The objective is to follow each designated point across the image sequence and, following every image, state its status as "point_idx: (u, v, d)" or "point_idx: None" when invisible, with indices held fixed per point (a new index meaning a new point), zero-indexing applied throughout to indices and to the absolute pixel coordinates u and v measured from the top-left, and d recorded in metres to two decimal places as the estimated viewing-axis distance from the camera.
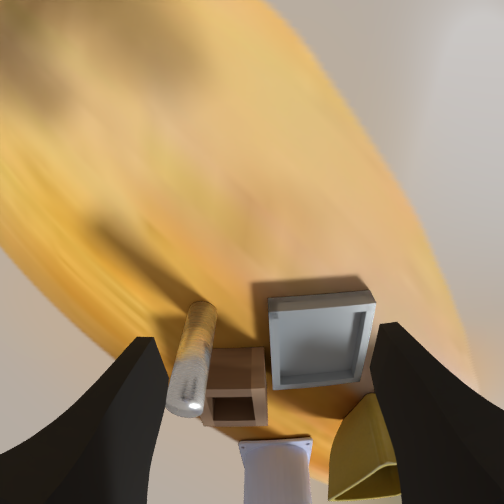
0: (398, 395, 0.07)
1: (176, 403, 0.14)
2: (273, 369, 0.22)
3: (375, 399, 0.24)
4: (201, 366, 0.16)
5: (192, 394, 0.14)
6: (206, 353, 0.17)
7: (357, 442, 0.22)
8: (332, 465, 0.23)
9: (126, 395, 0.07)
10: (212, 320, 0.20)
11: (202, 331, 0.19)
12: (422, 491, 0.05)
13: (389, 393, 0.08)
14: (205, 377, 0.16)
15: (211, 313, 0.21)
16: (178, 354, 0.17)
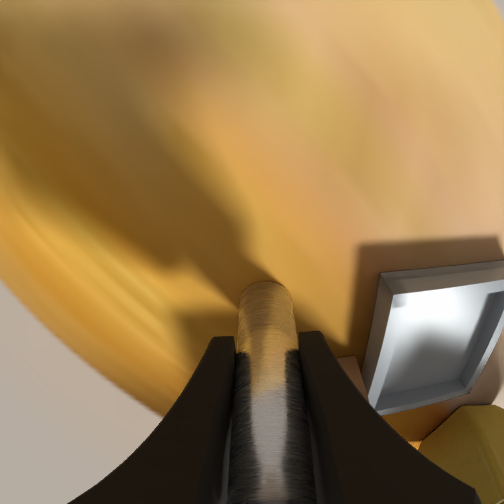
0: (309, 408, 0.08)
1: None
2: (372, 390, 0.13)
3: (474, 413, 0.15)
4: (300, 414, 0.07)
5: (299, 488, 0.05)
6: (300, 382, 0.08)
7: (458, 472, 0.12)
8: None
9: (221, 400, 0.07)
10: (291, 314, 0.11)
11: (283, 338, 0.09)
12: None
13: (306, 405, 0.08)
14: (309, 436, 0.07)
15: (287, 302, 0.11)
16: (242, 389, 0.08)
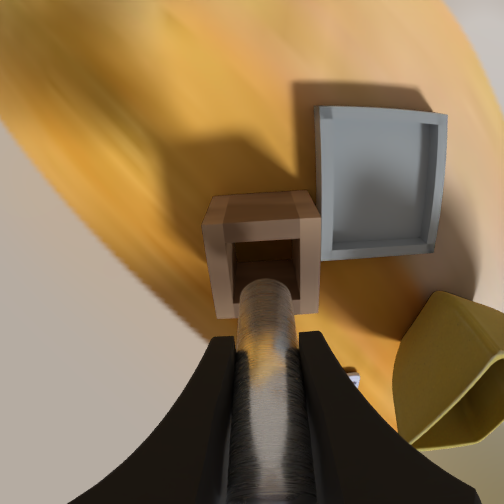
0: (309, 408, 0.08)
1: (256, 503, 0.05)
2: (324, 216, 0.16)
3: None
4: (299, 410, 0.07)
5: (298, 484, 0.05)
6: (299, 378, 0.08)
7: (440, 347, 0.15)
8: (400, 397, 0.17)
9: (221, 400, 0.07)
10: (291, 311, 0.11)
11: (282, 334, 0.09)
12: None
13: None
14: (309, 432, 0.07)
15: (287, 299, 0.11)
16: (242, 386, 0.08)
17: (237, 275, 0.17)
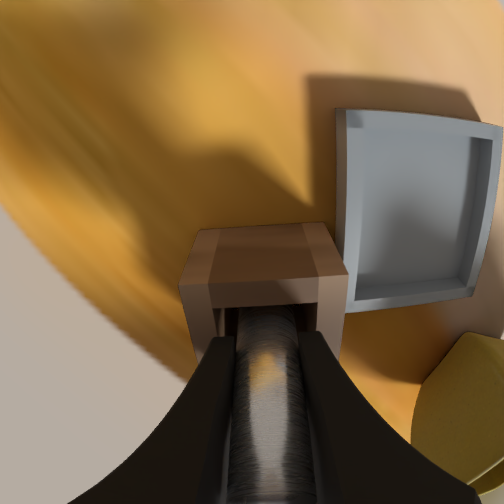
0: (309, 408, 0.08)
1: (256, 502, 0.05)
2: (346, 259, 0.12)
3: (481, 337, 0.14)
4: (299, 409, 0.07)
5: (298, 484, 0.05)
6: (299, 378, 0.08)
7: (471, 406, 0.11)
8: None
9: (221, 400, 0.07)
10: (291, 310, 0.11)
11: (282, 334, 0.09)
12: None
13: None
14: (309, 431, 0.07)
15: None
16: (242, 385, 0.08)
17: (232, 331, 0.13)
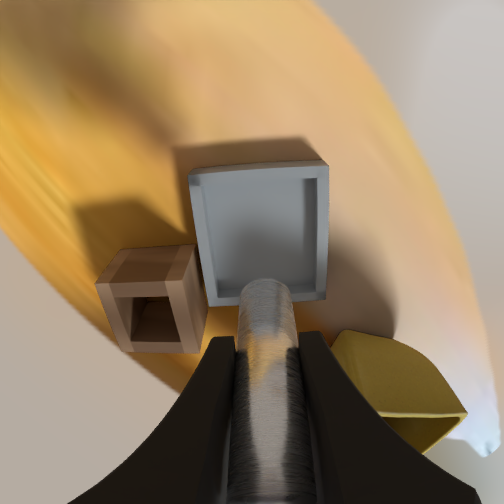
0: (309, 408, 0.08)
1: (257, 502, 0.05)
2: (204, 270, 0.18)
3: (352, 334, 0.20)
4: (300, 409, 0.07)
5: (300, 484, 0.05)
6: (300, 378, 0.08)
7: None
8: None
9: (221, 400, 0.07)
10: (291, 311, 0.11)
11: (283, 334, 0.09)
12: None
13: None
14: (309, 432, 0.07)
15: (288, 299, 0.11)
16: (242, 384, 0.08)
17: (143, 315, 0.20)
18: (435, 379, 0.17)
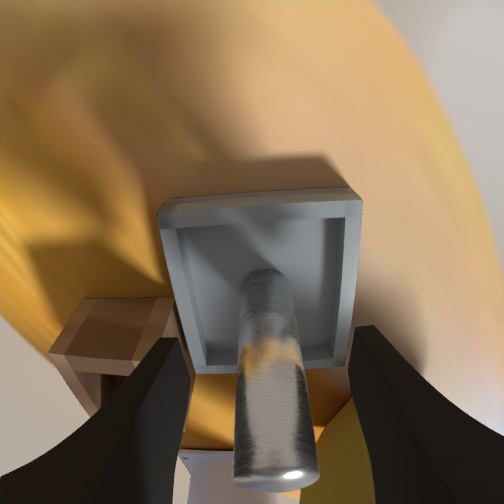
0: (372, 400, 0.07)
1: (262, 476, 0.06)
2: (187, 335, 0.13)
3: None
4: (301, 388, 0.08)
5: (303, 456, 0.06)
6: (300, 360, 0.09)
7: (341, 467, 0.13)
8: (304, 496, 0.14)
9: (154, 398, 0.07)
10: (290, 299, 0.11)
11: (283, 319, 0.10)
12: (393, 499, 0.05)
13: (364, 397, 0.08)
14: (310, 409, 0.07)
15: (287, 288, 0.12)
16: (246, 365, 0.08)
17: (116, 376, 0.15)
18: None
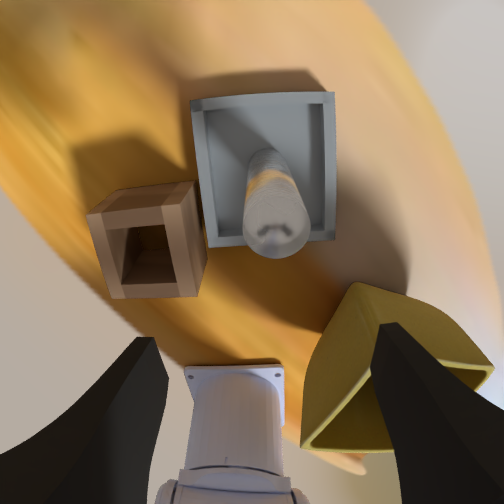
0: (398, 395, 0.07)
1: (266, 218, 0.09)
2: (204, 204, 0.16)
3: (363, 284, 0.19)
4: (293, 184, 0.11)
5: (295, 198, 0.09)
6: (292, 180, 0.12)
7: (340, 341, 0.16)
8: (306, 392, 0.18)
9: (126, 395, 0.07)
10: (286, 163, 0.15)
11: (280, 162, 0.13)
12: (422, 491, 0.05)
13: (389, 393, 0.08)
14: None
15: (283, 158, 0.15)
16: (253, 176, 0.12)
17: (136, 261, 0.18)
18: (456, 331, 0.15)
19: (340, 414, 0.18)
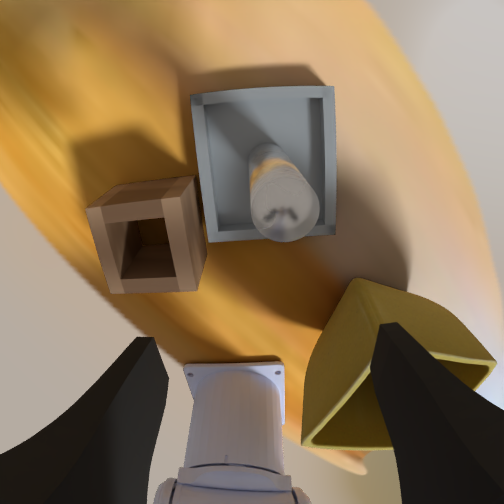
0: (398, 395, 0.07)
1: (274, 199, 0.09)
2: (204, 198, 0.16)
3: (364, 279, 0.19)
4: (298, 170, 0.11)
5: (303, 180, 0.09)
6: None
7: (341, 336, 0.16)
8: (307, 388, 0.18)
9: (126, 395, 0.07)
10: None
11: (282, 153, 0.13)
12: (422, 491, 0.05)
13: (389, 393, 0.08)
14: None
15: None
16: (256, 165, 0.12)
17: (136, 256, 0.18)
18: (458, 326, 0.15)
19: (341, 411, 0.18)
